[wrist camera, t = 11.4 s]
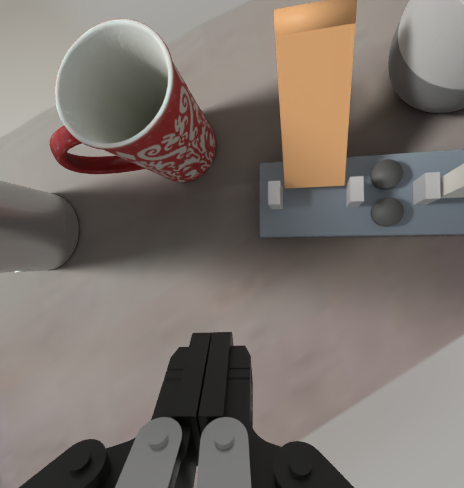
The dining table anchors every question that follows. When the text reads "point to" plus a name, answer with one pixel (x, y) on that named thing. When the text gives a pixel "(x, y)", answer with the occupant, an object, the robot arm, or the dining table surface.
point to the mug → (129, 106)
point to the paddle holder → (366, 199)
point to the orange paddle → (315, 89)
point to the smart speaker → (429, 55)
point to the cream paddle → (453, 183)
